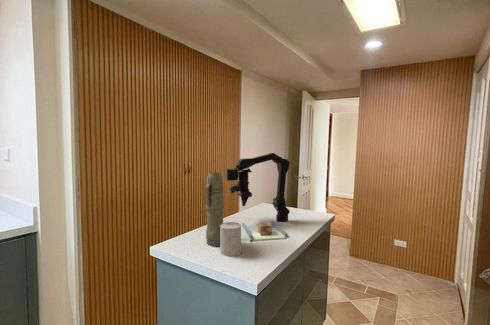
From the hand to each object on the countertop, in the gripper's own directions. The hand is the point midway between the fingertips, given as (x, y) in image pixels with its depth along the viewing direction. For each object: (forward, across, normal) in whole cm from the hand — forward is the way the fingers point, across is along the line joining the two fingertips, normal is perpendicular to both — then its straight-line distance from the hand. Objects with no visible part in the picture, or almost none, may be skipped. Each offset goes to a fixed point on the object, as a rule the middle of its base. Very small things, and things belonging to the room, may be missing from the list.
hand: (243, 206), depth 158 cm
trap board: (+12, +14, +8) cm, 20 cm away
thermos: (+12, +24, -19) cm, 33 cm away
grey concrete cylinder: (+12, +36, -13) cm, 40 cm away
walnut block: (+11, +19, +8) cm, 23 cm away
